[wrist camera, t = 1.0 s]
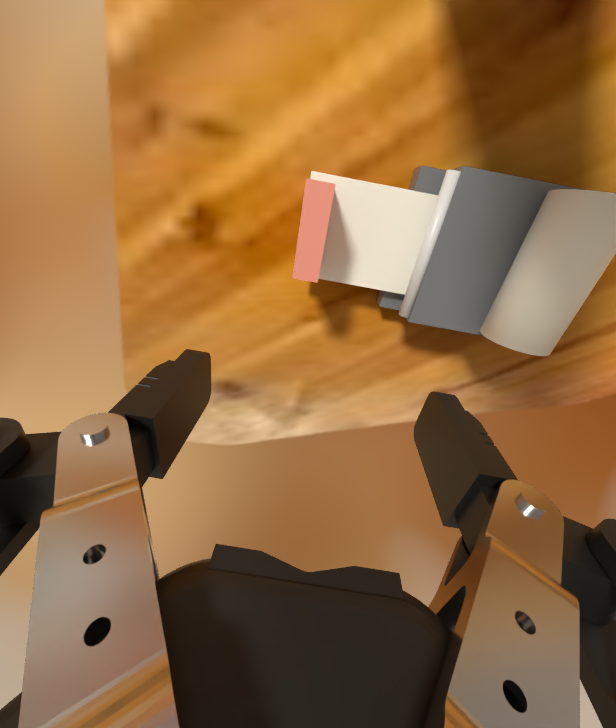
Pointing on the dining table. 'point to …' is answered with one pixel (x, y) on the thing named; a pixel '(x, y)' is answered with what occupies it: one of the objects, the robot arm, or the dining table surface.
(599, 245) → the dispenser
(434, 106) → the dining table surface
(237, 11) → the dining table surface
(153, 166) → the dining table surface
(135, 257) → the dining table surface
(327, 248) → the pink-tipped cream block
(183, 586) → the robot arm
